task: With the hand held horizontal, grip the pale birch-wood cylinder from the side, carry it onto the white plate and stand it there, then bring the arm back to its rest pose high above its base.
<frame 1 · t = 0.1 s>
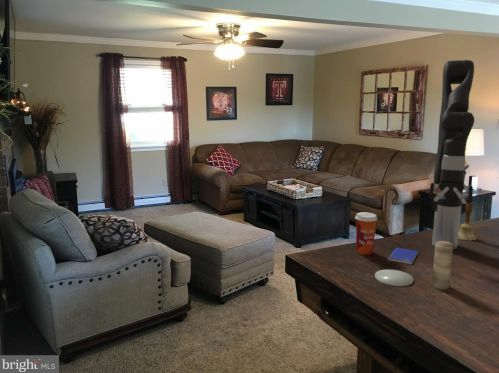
hand: (448, 212, 153), 17 cm above the table, tool pointing down, fingers open, 8 cm apart
wooden cylinder: (440, 286, 132), on the table
hard drive: (403, 258, 157), on the table
white plate: (393, 278, 138), on the table
coffee cup: (364, 252, 162), on the table
hand bell: (465, 238, 178), on the table
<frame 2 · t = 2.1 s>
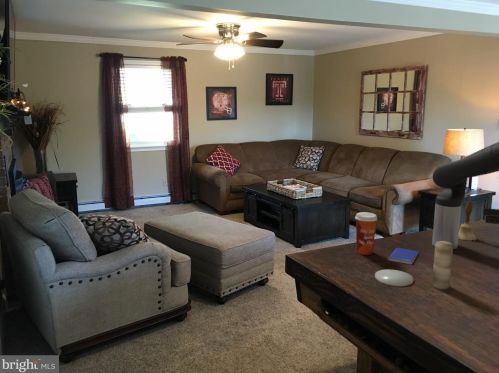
hand: (484, 215, 123), 24 cm above the table, tool horizontal, fingers open, 8 cm apart
nothing on the table moved.
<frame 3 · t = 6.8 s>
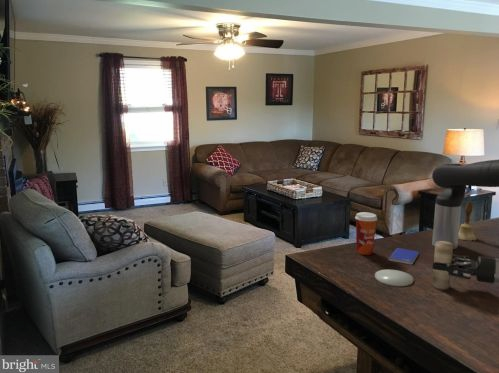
hand: (433, 262, 132), 8 cm above the table, tool horizontal, fingers closed on wooden cylinder, 5 cm apart
wooden cylinder: (440, 286, 132), on the table, touching gripper
everything else where it was.
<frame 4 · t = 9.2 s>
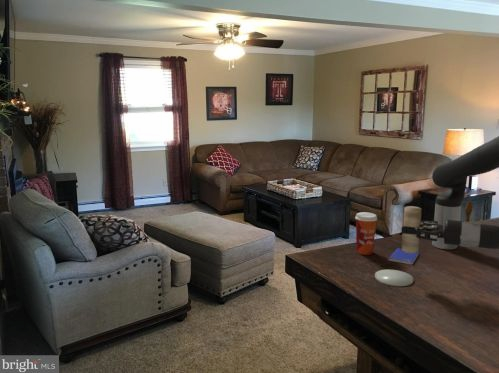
hand: (402, 227, 134), 18 cm above the table, tool horizontal, fingers closed on wooden cylinder, 5 cm apart
wooden cylinder: (409, 250, 134), point 10 cm above the table, touching gripper
everything else where it was.
when the fingers open (9 cm above the table, at t = 11.7 s): wooden cylinder stays where it is, resting on white plate.
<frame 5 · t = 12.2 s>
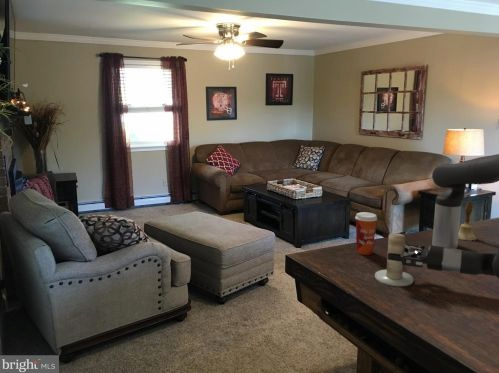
hand: (389, 251, 137), 9 cm above the table, tool horizontal, fingers open, 8 cm apart
wooden cylinder: (394, 276, 138), point 1 cm above the table, touching white plate
everything else where it was.
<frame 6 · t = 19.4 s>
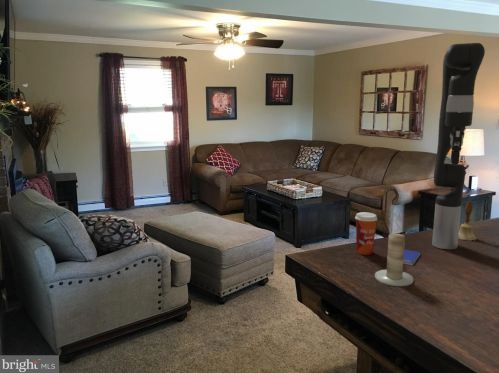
hand: (454, 161, 134), 38 cm above the table, tool pointing down, fingers open, 8 cm apart
nothing on the table moved.
at the end: wooden cylinder 0.1 cm off-centre on the white plate, point 0.6 cm above the white plate's base; wooden cylinder tilted 0°; the gripper is holding nothing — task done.
